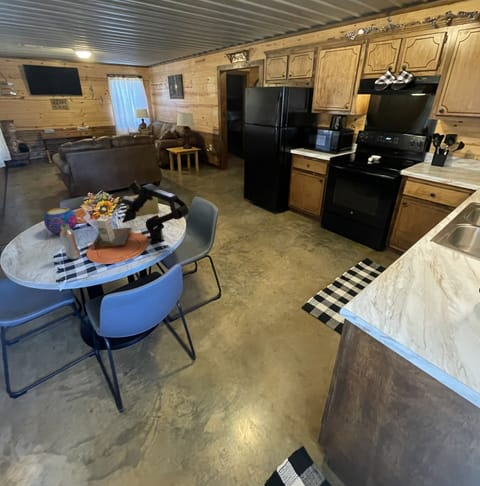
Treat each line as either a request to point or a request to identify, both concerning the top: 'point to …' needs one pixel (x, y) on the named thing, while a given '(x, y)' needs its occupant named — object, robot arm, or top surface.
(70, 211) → the ceramic pot
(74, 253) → the plastic bottle
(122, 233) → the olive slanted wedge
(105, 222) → the syrup box
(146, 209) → the cheese
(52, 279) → the top surface
